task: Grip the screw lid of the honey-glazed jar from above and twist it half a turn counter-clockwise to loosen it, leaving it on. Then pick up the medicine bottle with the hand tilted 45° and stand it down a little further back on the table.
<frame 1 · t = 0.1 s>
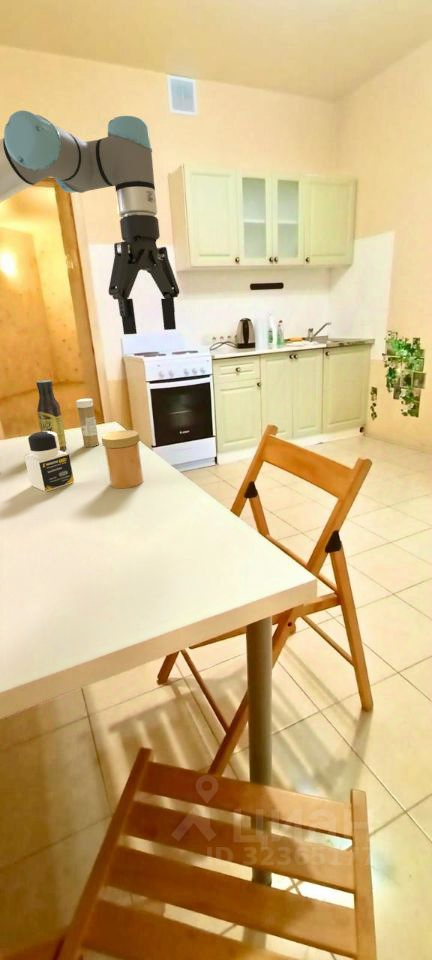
hand: (151, 332, 95), 31 cm above the table, tool pointing down, fingers open, 13 cm apart
sprinkles bottle: (91, 445, 132), on the table
sauce bottle: (56, 451, 128), on the table
lid: (120, 436, 96), point 11 cm above the table, screwed on, not yet turned
jar: (127, 482, 100), on the table
medicine bottle: (52, 485, 102), on the table
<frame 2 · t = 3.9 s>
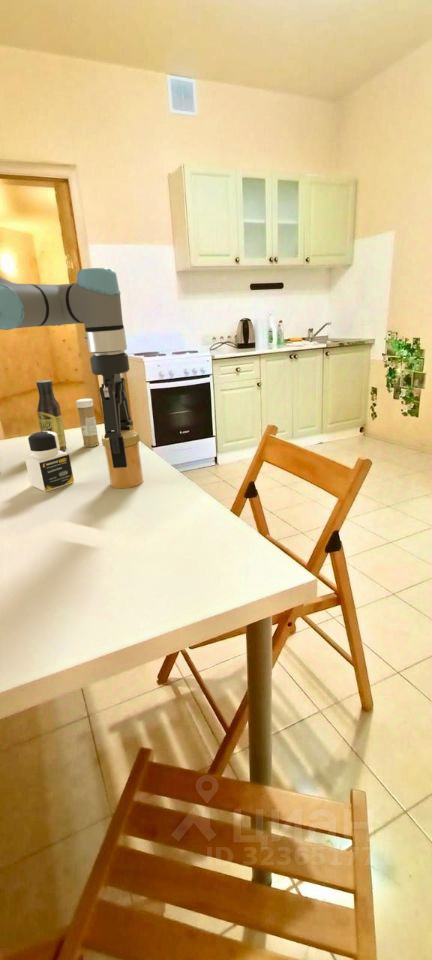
hand: (123, 460, 98), 5 cm above the table, tool pointing down, fingers closed on lid, 8 cm apart
lid: (120, 436, 96), point 11 cm above the table, screwed on, not yet turned, touching gripper
everything else where it was.
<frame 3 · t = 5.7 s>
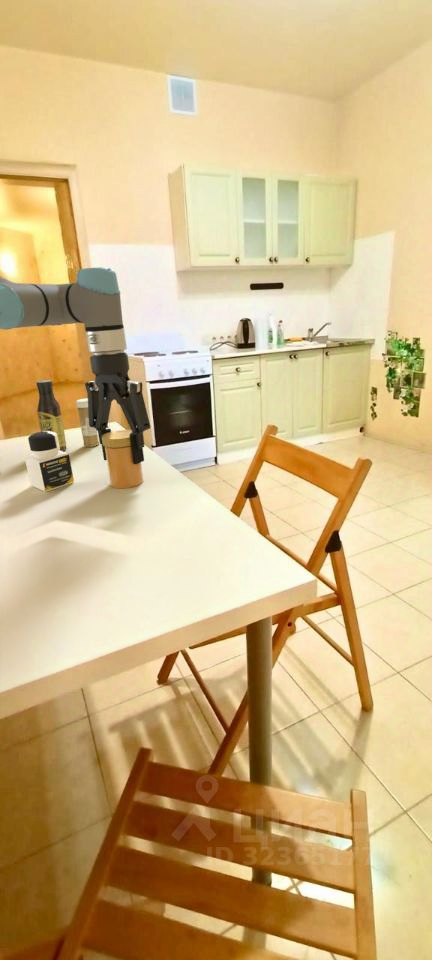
hand: (123, 460, 98), 5 cm above the table, tool pointing down, fingers closed on lid, 8 cm apart
lid: (120, 436, 96), point 11 cm above the table, turned 59° so far, risen 0.1 cm, still on its thread, touching gripper
everything else where it was.
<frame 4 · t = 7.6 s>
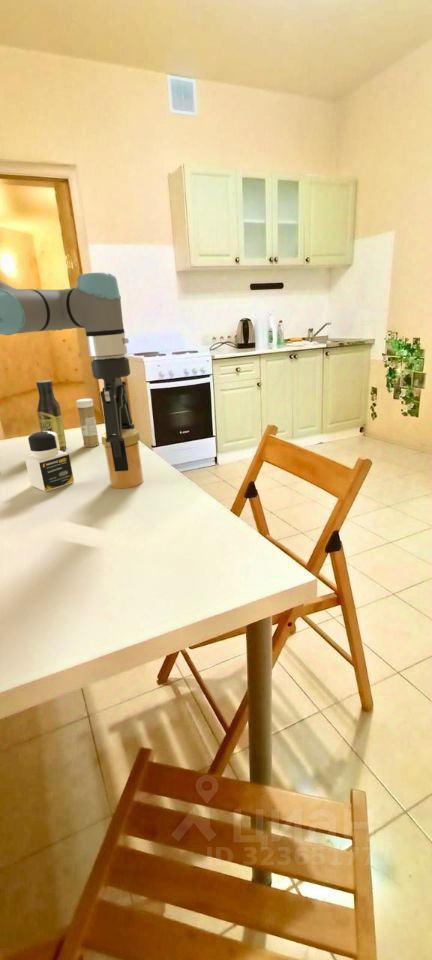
hand: (125, 463, 98), 4 cm above the table, tool pointing down, fingers closed on lid, 8 cm apart
lid: (120, 435, 96), point 11 cm above the table, turned 179° so far, risen 0.2 cm, still on its thread, touching gripper
everything else where it was.
when the fingers open (4 cm above the table, at t = 8.3 s): lid stays where it is, point 11 cm above the table.
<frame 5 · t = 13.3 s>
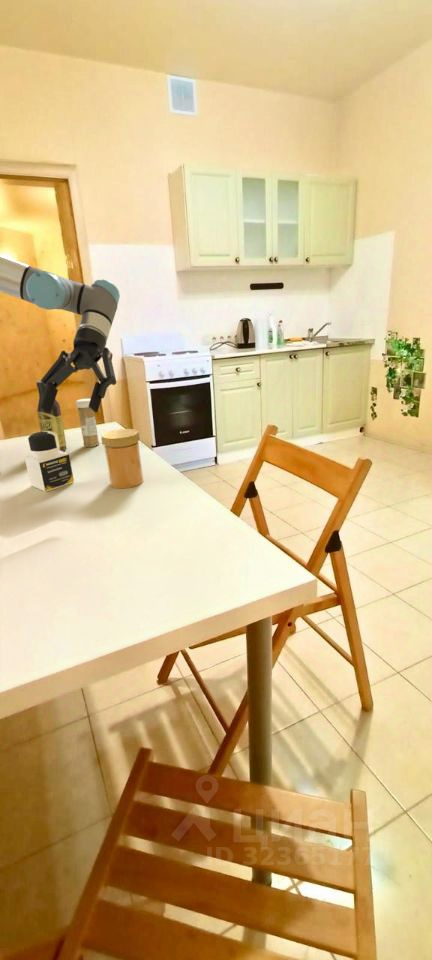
hand: (68, 410, 105), 15 cm above the table, tool tilted 45°, fingers open, 13 cm apart
lid: (120, 435, 96), point 11 cm above the table, turned 179° so far, risen 0.2 cm, still on its thread
everything else where it was.
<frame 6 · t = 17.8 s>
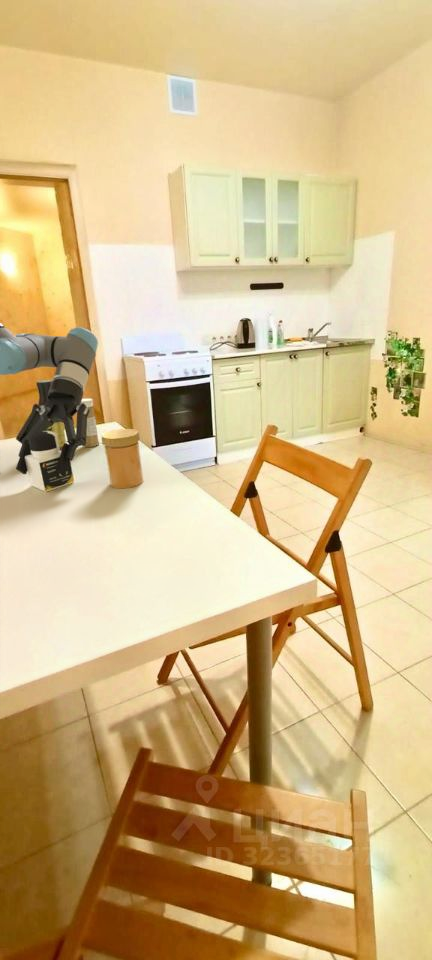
hand: (40, 472, 98), 4 cm above the table, tool tilted 45°, fingers closed on medicine bottle, 9 cm apart
medicine bottle: (52, 485, 102), on the table, touching gripper
everything else where it was.
when the fingers open (4 cm above the table, at t = 26.1 s): medicine bottle stays where it is, on the table.
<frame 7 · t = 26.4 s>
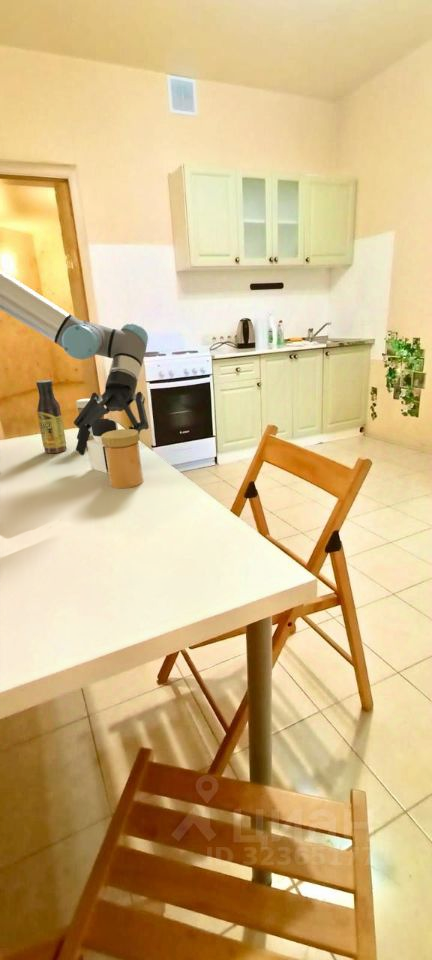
hand: (103, 453, 107), 4 cm above the table, tool tilted 45°, fingers open, 12 cm apart
medicine bottle: (111, 468, 111), on the table
everything else where it was.
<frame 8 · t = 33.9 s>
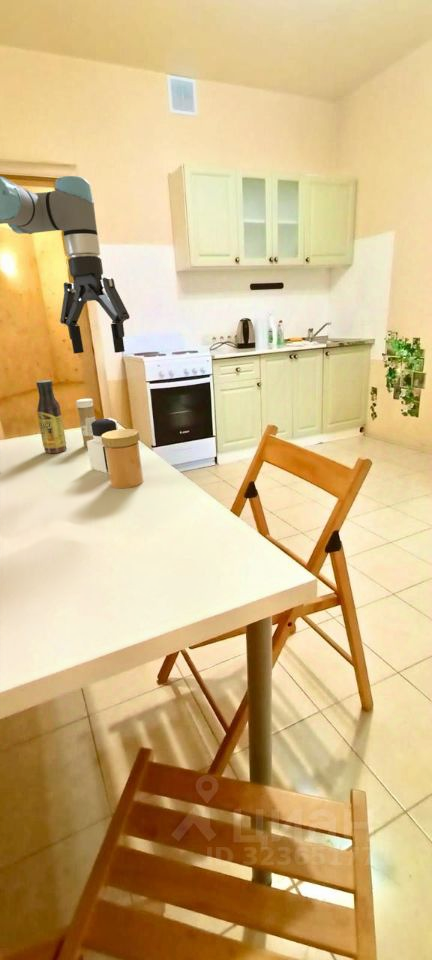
hand: (98, 352, 111), 27 cm above the table, tool pointing down, fingers open, 13 cm apart
nothing on the table moved.
at the end: lid turned 0.50 turns (still on its thread); lid is still on its thread (0.50 turns); medicine bottle inside the target area (0.0 cm from its centre), on the table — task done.
